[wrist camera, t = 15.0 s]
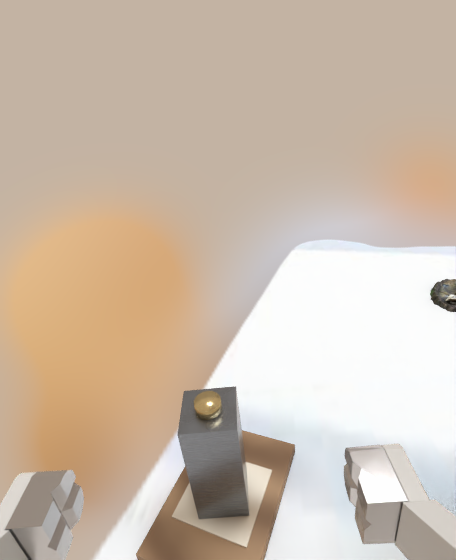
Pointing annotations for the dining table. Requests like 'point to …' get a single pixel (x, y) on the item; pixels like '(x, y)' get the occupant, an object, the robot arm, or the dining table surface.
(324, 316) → the dining table surface
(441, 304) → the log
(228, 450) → the block
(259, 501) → the walnut board
